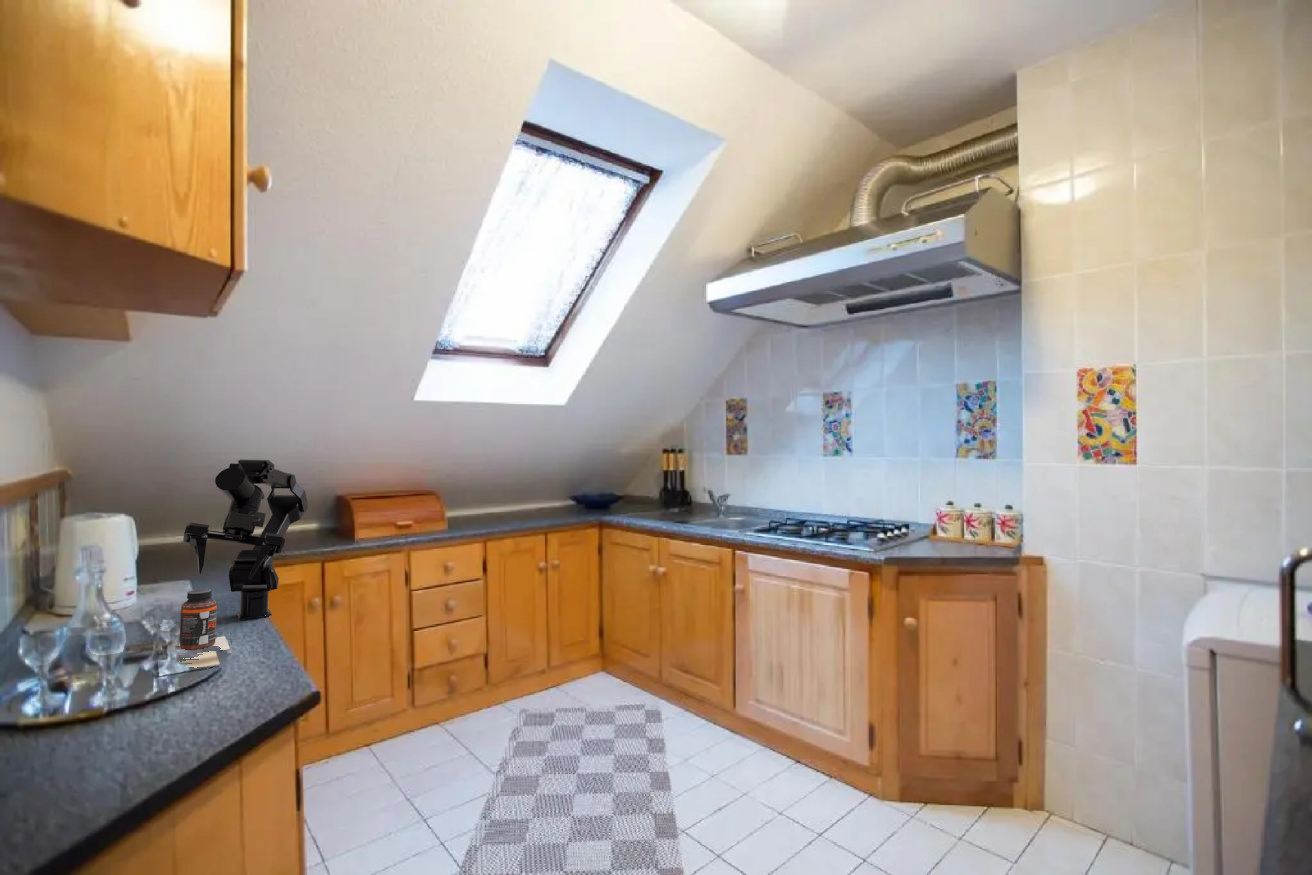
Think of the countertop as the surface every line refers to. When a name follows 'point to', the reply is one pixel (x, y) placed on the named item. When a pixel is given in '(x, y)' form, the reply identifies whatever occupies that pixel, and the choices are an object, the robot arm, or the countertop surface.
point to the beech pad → (203, 660)
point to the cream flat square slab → (221, 643)
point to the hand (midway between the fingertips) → (225, 576)
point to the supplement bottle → (198, 620)
